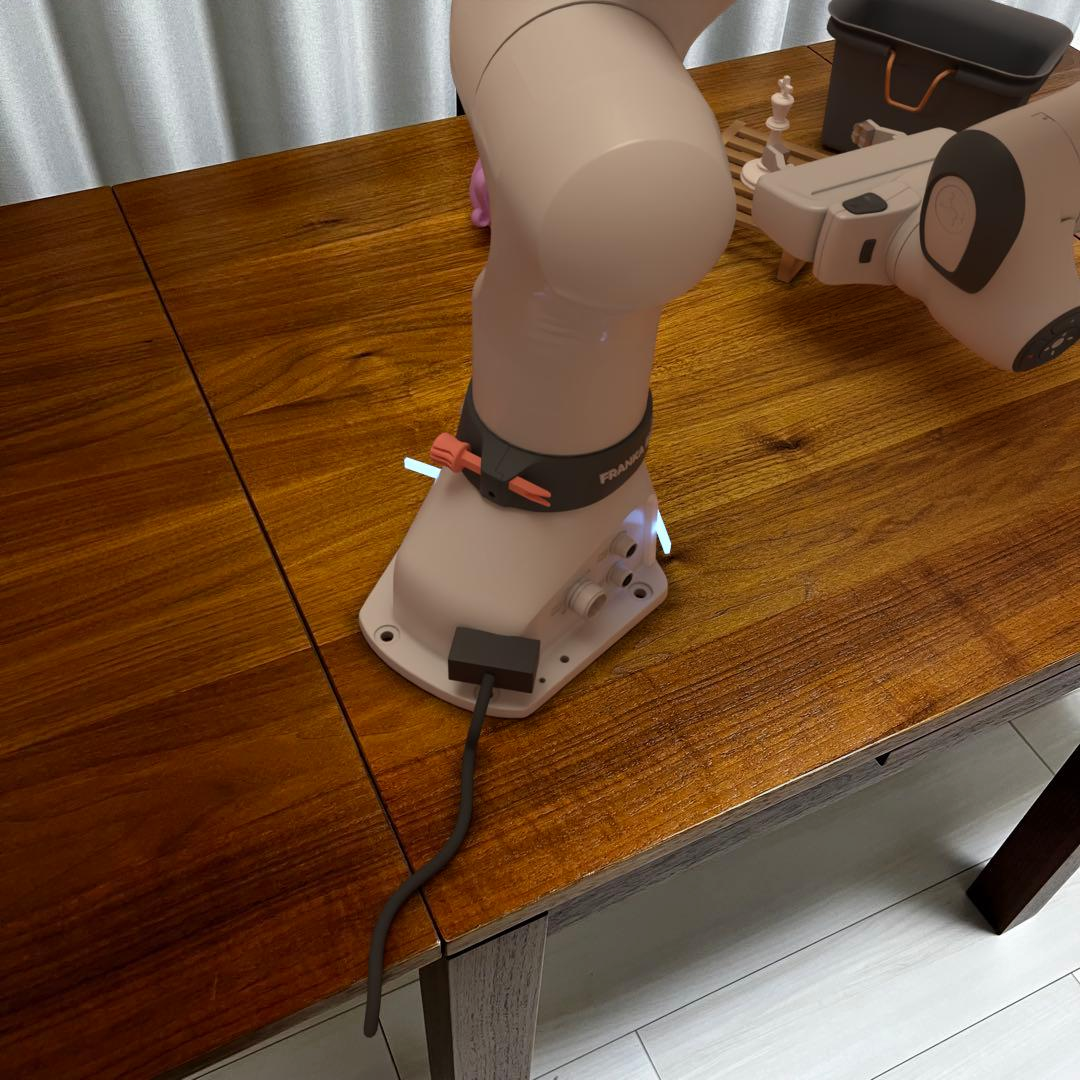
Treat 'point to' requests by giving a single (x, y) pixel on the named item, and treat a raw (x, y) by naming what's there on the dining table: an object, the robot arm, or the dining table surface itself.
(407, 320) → the dining table surface
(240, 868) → the dining table surface
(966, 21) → the storage bin
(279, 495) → the dining table surface
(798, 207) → the robot arm
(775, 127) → the chess piece
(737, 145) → the rack
